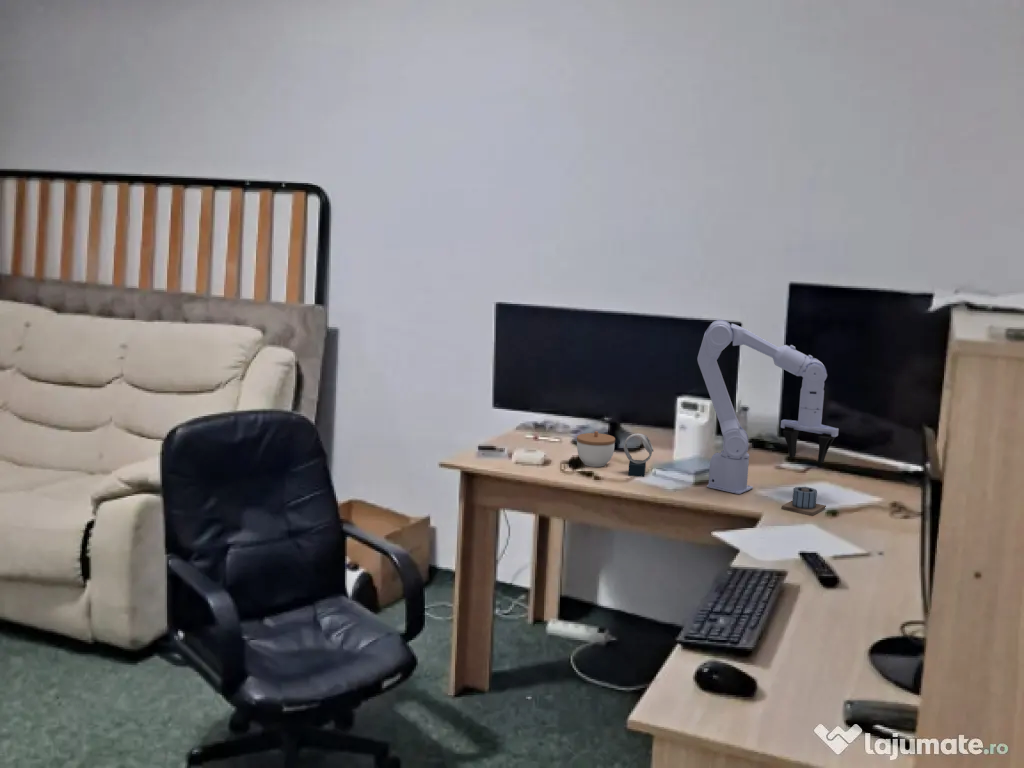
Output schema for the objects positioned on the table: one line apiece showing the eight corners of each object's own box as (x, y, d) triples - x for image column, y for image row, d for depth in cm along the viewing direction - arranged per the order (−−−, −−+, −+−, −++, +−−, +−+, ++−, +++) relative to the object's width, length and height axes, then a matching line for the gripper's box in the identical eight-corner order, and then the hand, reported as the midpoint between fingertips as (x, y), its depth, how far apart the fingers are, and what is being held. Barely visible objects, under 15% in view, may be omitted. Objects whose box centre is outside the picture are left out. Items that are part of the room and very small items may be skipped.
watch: (651, 477, 276) (654, 437, 274) (621, 475, 277) (623, 435, 275) (652, 472, 281) (654, 433, 279) (623, 469, 283) (625, 431, 281)
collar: (788, 505, 251) (789, 489, 250) (797, 500, 255) (799, 485, 255) (810, 510, 248) (811, 494, 247) (819, 505, 252) (820, 489, 251)
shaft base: (781, 508, 251) (782, 489, 250) (795, 502, 257) (796, 482, 256) (812, 515, 246) (814, 495, 245) (825, 508, 252) (827, 489, 251)
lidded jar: (571, 459, 292) (572, 427, 290) (607, 458, 294) (608, 426, 293) (582, 469, 282) (583, 436, 280) (619, 468, 284) (620, 435, 282)
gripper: (777, 405, 261) (773, 457, 263) (832, 414, 252) (827, 467, 254) (789, 401, 266) (784, 452, 269) (843, 410, 257) (838, 462, 260)
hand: (806, 459), depth 262 cm, fingers open, 7 cm apart
